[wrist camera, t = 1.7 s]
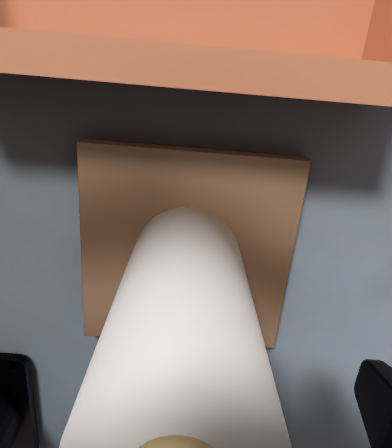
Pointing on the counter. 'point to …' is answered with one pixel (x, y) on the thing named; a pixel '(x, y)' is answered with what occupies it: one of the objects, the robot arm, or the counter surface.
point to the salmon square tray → (208, 45)
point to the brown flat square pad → (187, 197)
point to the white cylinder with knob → (180, 349)
